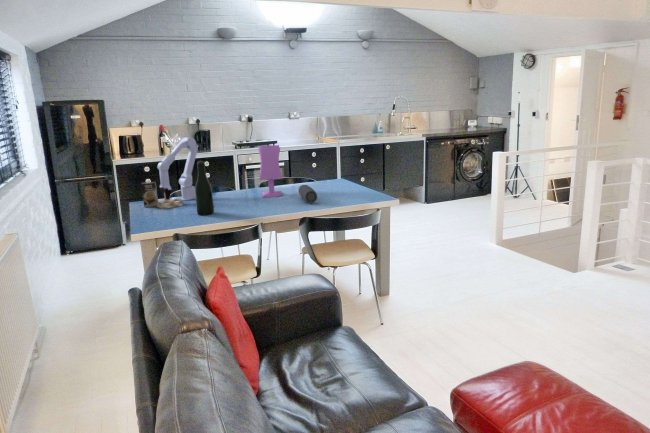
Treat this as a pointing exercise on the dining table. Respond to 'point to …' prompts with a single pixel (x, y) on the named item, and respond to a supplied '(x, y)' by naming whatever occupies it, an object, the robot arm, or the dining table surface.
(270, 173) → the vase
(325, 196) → the dining table surface
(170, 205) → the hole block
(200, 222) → the dining table surface
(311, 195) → the bluetooth speaker
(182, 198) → the robot arm
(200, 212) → the beer bottle
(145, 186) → the coffee box
